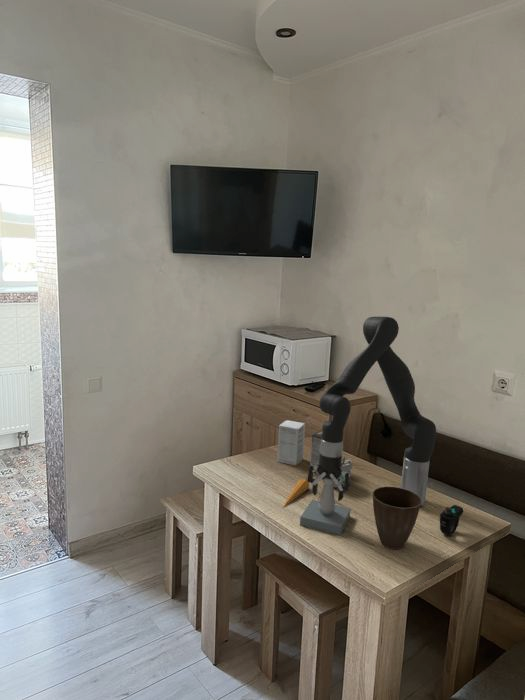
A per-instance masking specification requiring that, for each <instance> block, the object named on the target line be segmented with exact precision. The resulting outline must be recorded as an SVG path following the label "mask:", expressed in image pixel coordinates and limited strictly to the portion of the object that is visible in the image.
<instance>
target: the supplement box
mask: <svg viewBox="0 0 525 700" xmlns="http://www.w3.org/2000/svg"><path fill="white" fill-rule="evenodd" d="M305 430H306V423H304V422H298V421H294V420H288V419H287V420H284V421H283V422H282V423H280V424H279V426H278V434H277V435H278V436H277V438H278V439H277V454H276V455H277V456H276V461H278V462H279V463H282V464H288V465H292V466H297V465H299V464H300V463H301V462H302V461H303V460H304V454H305V453H304V450H305V434H306V431H305Z"/></svg>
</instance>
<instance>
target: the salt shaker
mask: <svg viewBox="0 0 525 700" xmlns="http://www.w3.org/2000/svg"><path fill="white" fill-rule="evenodd" d="M322 483H323V487H322V489H321V490H322V491H321V494H320V498H319V500H318V501H319V504H318V507H319V510H320V512H321V513H322V514H323V515H331V514H332V513H333V511H334V510H335V505H336V502H335V501H336V499H335V491H334V490H335V489H334V488H333V485H334V484H335V483H334V481H333V480H332V479H329V478H324V479H322Z"/></svg>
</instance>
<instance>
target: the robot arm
mask: <svg viewBox="0 0 525 700" xmlns="http://www.w3.org/2000/svg"><path fill="white" fill-rule="evenodd" d="M399 329H400V328H399V324H398V321H397V320H396V318H394V317H390V316H369V317H368V318H366V319H365V321H364V322H363V325H362V332H363V335H364V339H365V341H366V343H367V344H368V345H367V347H365V348H364V349H363V350H362V351H361V352H360V353H359V354H358V355H356V357H353V358H352V360H351V361H350V362H349V363H348V364H347V366H345V368H344V370H343V371H342V373H341V375H339V378H338V379H337V380H336V381H335V382H334V383H333V384H332V385H331V386H330V387H329V388H328V389H326V391H325V392H324V393H323V394H322V396H321V397H320V400H319V408H320V410H321V411H322V412H323V413H325V414H327V415H330V416H332V419H331V420H327V421H324V423H323V424H322V429H321V430H322V439H321V444H320V456H319V466H315V465H314V464H311V465H309V466H308V472H307V474H308V475H307V479H306V480H307V481H308V482H309V484H311V486H312V489H311V490H312V491H311V492H312V493H311V494H313V496H317V495H318V488H319V487H318V486H319V482H320V481H321V480H323V479H324V478H329V479H332V480H333V481H334V483H335V484H336V486H337V487H338V488H339V489H338V496H337V501H338V502H341V500H343V498H344V493H345V492H344V491H349V489H350V487H351V470H350V471H347V472H344V471H342V470H341V463H342V460H343V449H344V445H343V444H344V443H343V439H344V429H345V428H346V427H345V426H346V423H347V421H348V419H349V416H350V413H351V408H352V407H351V403H350V401H349V399H348V398H347V397H346V396H345V395H353V394H355V393H356V392H357V390H358V389H359V387H360V386H361V384H362V382H363V381H364V379H365V377H366V376H367V374H368V372H370V369H372V368H373V366H374V365H375V363H377V364H378V367H379V369H380V370H381V373H382V375H383V379H384V381H385V383H386V385H387V388H388V390H389V393H390V395H391V397H392V400H393V402H394V405H395V406H396V409H397V411H398V416H399V419H400V422H401V426H402V429H403V432H404V433H405V435H406V436H407V437H409V438H410V439H412V445H411V446H409V447H406V448H405V449H404V453H403V454H404V456H403V461H402V462H403V465H402V472H401V473H402V474H401V483H400V488H403V489H406V490H409V491H411V492H413V493H415V494H417V495H418V496H419V497H420V499H421V505H420V507H425V503H426V495H427V488H428V478H429V468H430V462H431V461H430V460H431V456H432V455H433V452H434V448H435V443H436V435H437V428H436V427H437V426H436V424H435V422H434V421H432V420H431V419H429V418H427V417H424V416H423V415H422V414H421V412H420V411H419V409H418V407H417V405H416V401H415V393H416V386H415V385H416V384H415V381H414V379H413V376H412V373H411V371H410V369H409V367H408V366H407V364H406V363H405V362H404V361H403V360H402V359H401V358H400V357H399V356H398V355H397V354H396V353H395V351H394V350H393V349H392V347H391V345H392V344H393V343H394V341H396V338H397V336H398V335H399V332H400V331H399ZM315 470H317V471H318V473H317V474H319V475H318V476H317V477H316V478H314V473H316V472H315ZM341 475H343V478H345V485H343V483H342V481H341V479H340V476H341Z"/></svg>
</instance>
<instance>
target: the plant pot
mask: <svg viewBox="0 0 525 700" xmlns="http://www.w3.org/2000/svg"><path fill="white" fill-rule="evenodd" d="M372 505H373V515H374V520H375V521H374V522H375V527H376V529H377V535H378V538H379V541H380V543H381V545H382V546H383V545H384V547H385V548H387V547H388V548H387V549H390V548H391V550H401V549H403V548H404V547H405V545H406V544H407V542H408V540H409V538H410V535H411V533H412V531H413V529H414V527H415V524H416V522H417V519H418V516H419V512H420V509H421V506H420V505H421V499H420V497H419V496H418V495H417V494H415V493H413V492H411V491H409V490H406V489H403V488H401V487H397V486H380V487H378V488H375V489H374V490H373V491H372Z"/></svg>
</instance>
